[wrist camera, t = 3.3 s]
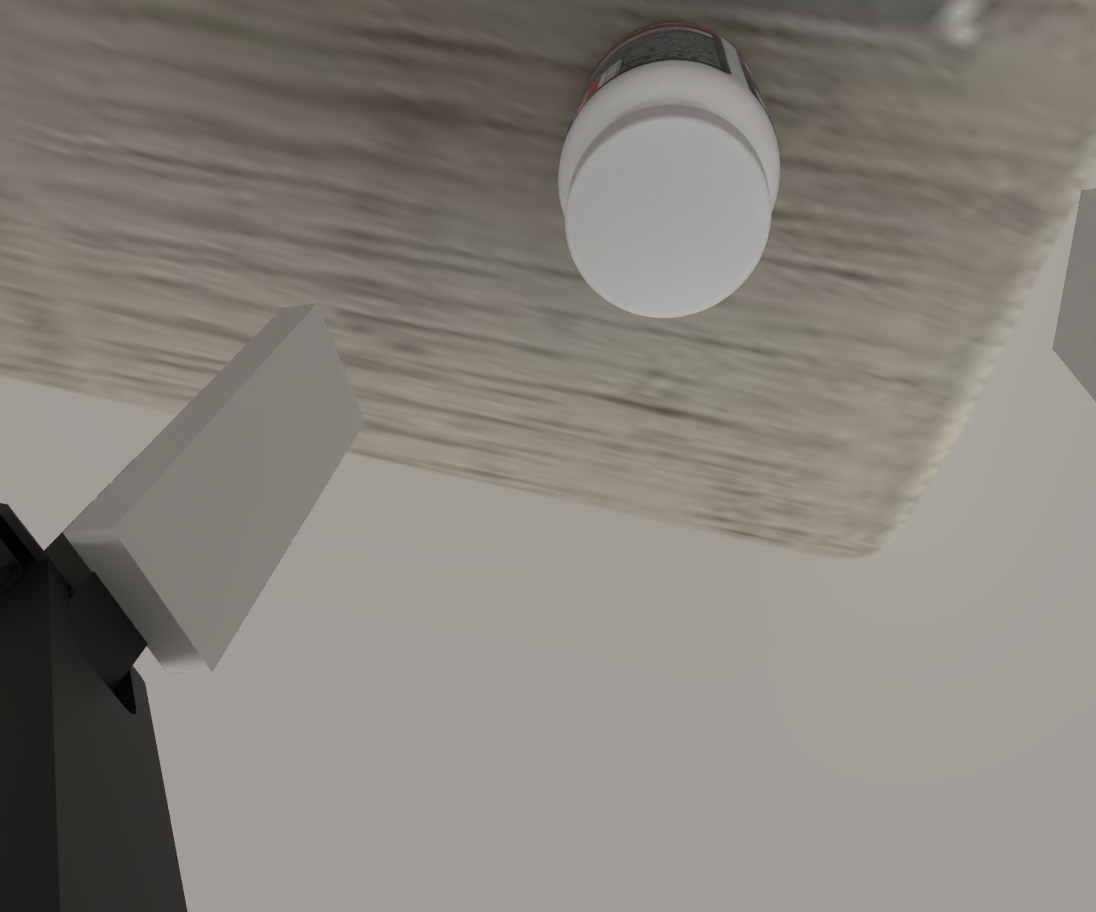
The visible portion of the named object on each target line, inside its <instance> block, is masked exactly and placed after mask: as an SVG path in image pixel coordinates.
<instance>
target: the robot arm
mask: <svg viewBox="0 0 1096 912" xmlns="http://www.w3.org/2000/svg"><path fill="white" fill-rule="evenodd" d="M1053 350H1054V351H1055V352H1056V353H1057V355H1058V356H1059V357H1060V358H1061V360H1062V361H1063V362H1064V363H1065V365H1066V366H1067V367H1068V368H1069V369H1070V371H1072V373H1073V374H1074V375H1075V377H1076V378H1077V379H1078V380H1079V381H1080V383H1081V384H1082V385H1083V386H1084V387H1085V389H1086V390H1087V391H1088V393H1089V394H1090V395H1091V396H1092V397H1093V399H1094V400H1095V401H1096V188H1094V189H1088V190H1081V196H1080V201H1079V207H1078V212H1077V218H1076V223H1075V229H1074V234H1073V240H1072V245H1071V251H1070V257H1069V262H1068V268H1067V273H1066V278H1065V284H1064V289H1063V294H1062V300H1061V305H1060V311H1059V317H1058V323H1057V328H1056V333H1055V338H1054V344H1053ZM364 422H365V420H364V417H363V415H362V412H361V410H360V407H359V405H358V403H357V400H356V398H355V395H354V393H353V390H352V388H351V385H350V383H349V380H348V378H347V375H346V373H345V371H344V368H343V366H342V363H341V361H340V358H339V356H338V353H337V351H336V348H335V346H334V344H333V341H332V339H331V336H330V334H329V331H328V329H327V326H326V324H325V321H324V319H323V317H322V314H321V312H320V309H319V307H318V304H317V303H316V304H309V305H302V306H295V307H289V308H282V309H281V310H280V311H279V312H278V313H277V314H276V315H275V316H274V317H273V318H272V319H271V320H270V321H269V322H268V323H267V325H266V326H265V327H264V328H263V329H262V330H261V331H260V332H259V333H258V334H257V335H256V336H255V337H254V338H253V339H252V340H251V341H250V342H249V343H248V344H247V345H246V346H245V347H244V348H243V349H242V350H241V351H240V352H239V353H238V354H237V355H236V356H235V357H234V358H233V359H232V360H231V361H230V362H229V363H228V364H227V365H226V366H225V367H224V368H223V369H222V370H221V371H220V372H219V373H218V375H217V376H216V377H215V378H214V379H213V380H212V381H211V382H210V383H209V384H208V385H207V386H206V387H205V388H204V389H203V390H202V391H201V392H200V393H199V394H198V395H197V396H196V397H195V398H194V399H193V400H192V401H191V402H190V403H189V404H188V405H187V406H186V407H185V408H184V409H183V410H182V411H181V412H180V413H179V414H178V415H177V416H176V417H175V418H174V419H173V420H172V421H171V422H170V424H169V425H168V426H167V427H166V428H165V429H164V430H163V431H162V432H161V433H160V434H159V435H158V436H157V437H156V438H155V439H154V440H153V441H152V442H151V443H150V444H149V445H148V446H147V447H146V448H145V449H144V450H143V451H142V452H141V453H140V454H139V455H138V456H137V457H136V458H135V459H134V460H133V461H132V462H131V463H130V464H129V465H128V466H127V467H126V468H125V469H124V470H123V471H122V472H121V473H120V474H119V475H118V476H117V477H116V478H115V479H114V481H113V482H112V483H111V484H109V485H108V486H107V487H106V488H105V489H104V490H103V491H102V492H101V493H100V494H99V495H98V497H97V498H96V499H95V500H94V501H92V502H91V503H90V504H89V506H88V507H87V508H86V509H85V510H84V511H83V512H82V513H81V514H80V515H79V516H78V517H77V518H76V519H75V520H74V521H73V522H72V523H71V524H70V525H69V526H68V527H67V528H66V529H65V530H64V531H63V532H62V533H61V534H60V535H59V536H58V537H57V538H56V539H55V540H54V541H53V542H52V543H51V544H50V545H49V546H48V547H47V548H46V549H45V550H44V551H43V549H42V548H41V547H40V546H39V544H38V543H37V542H36V540H35V539H34V538H33V536H32V535H31V534H30V533H29V531H28V530H27V529H26V528H25V526H24V525H23V524H22V522H21V521H20V520H19V519H18V517H17V516H16V515H15V513H14V512H13V511H12V509H11V508H10V507H9V505H7V504H1V503H0V912H187V907H186V902H185V896H184V891H183V886H182V880H181V875H180V869H179V864H178V859H177V853H176V848H175V842H174V837H173V832H172V826H171V821H170V815H169V810H168V804H167V799H166V794H165V788H164V783H163V778H162V772H161V767H160V761H159V756H158V751H157V745H156V740H155V734H154V729H153V723H152V718H151V712H150V707H149V702H148V696H147V692H146V686H145V682H144V681H143V679H142V677H141V676H140V674H139V673H138V672H137V671H136V669H135V668H134V667H133V664H134V662H135V661H136V660H137V658H138V657H139V655H140V654H141V653H142V651H143V650H144V649H145V647H146V646H147V647H148V648H149V650H150V651H151V652H152V653H153V655H154V656H155V658H156V659H157V660H158V662H159V663H160V664H161V665H162V667H163V668H164V670H165V671H166V672H167V673H200V672H212V671H213V670H214V668H215V667H216V665H217V663H218V662H219V660H220V658H221V657H222V655H223V653H224V652H225V650H226V648H227V647H228V645H229V644H230V642H231V640H232V639H233V637H234V635H235V634H236V632H237V631H238V629H239V627H240V626H241V624H242V622H243V621H244V619H245V617H246V616H247V614H248V612H249V611H250V609H251V608H252V606H253V604H254V602H255V601H256V599H257V598H258V596H259V594H260V592H261V591H262V589H263V588H264V586H265V585H266V583H267V581H268V580H269V578H270V576H271V575H272V573H273V571H274V570H275V568H276V567H277V565H278V563H279V562H280V560H281V558H282V557H283V555H284V553H285V552H286V550H287V548H288V547H289V545H290V544H291V542H292V540H293V539H294V537H295V535H296V534H297V532H298V530H299V529H300V527H301V526H302V524H303V522H304V521H305V519H306V517H307V516H308V514H309V512H310V511H311V509H312V507H313V505H314V504H315V503H316V501H317V499H318V498H319V496H320V494H321V493H322V491H323V489H324V488H325V486H326V485H327V483H328V481H329V480H330V478H331V476H332V475H333V473H334V471H335V470H336V468H337V466H338V465H339V463H340V462H341V460H342V458H343V457H344V455H345V453H346V452H347V450H348V448H349V447H350V445H351V444H352V442H353V440H354V439H355V437H356V435H357V434H358V432H359V430H360V429H361V427H362V426H363V424H364Z"/></svg>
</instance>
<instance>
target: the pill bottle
mask: <svg viewBox="0 0 1096 912" xmlns="http://www.w3.org/2000/svg"><path fill="white" fill-rule="evenodd" d="M779 182H780V156H779V149H778V143H777V138H776V134H775V130H774V127H773V125H772V122H771V120H770V117H769V115H768V112H767V110H766V108H765V105H764V103H763V100H762V98H761V95H760V93H759V90H758V87H757V84H756V82H755V80H754V78H753V75H752V73H751V71H750V69H749V67H748V65H747V64H746V62H745V60H744V59H743V58H742V56H741V55H740V54H739V53H738V52H737V51H736V49H735V48H734V47H733V46H732V45H731V44H730V43H729V42H727V41H726V40H725V39H724V38H722V37H721V36H719V35H717V34H716V33H714V32H712V31H710V30H708V29H706V28H703V27H700V26H697V25H693V24H687V23H663V24H657V25H653V26H650V27H646V28H644V29H641V30H639V31H637V32H635V33H633V34H631V35H629V36H628V37H626V38H625V39H623V40H622V41H620V42H619V43H618V44H617V45H616V46H614V47H613V48H612V49H611V50H610V51H609V53H608V54H607V55H606V56H605V57H604V58H603V59H602V60H601V62H600V63H599V65H598V66H597V68H596V69H595V71H594V72H593V74H592V76H591V78H590V80H589V82H588V84H587V86H586V88H585V91H584V94H583V97H582V99H581V102H580V104H579V106H578V109H577V111H576V113H575V116H574V119H573V121H572V124H571V126H570V128H569V130H568V133H567V135H566V138H565V141H564V145H563V148H562V153H561V157H560V163H559V170H558V190H559V198H560V204H561V208H562V212H563V215H564V218H565V230H566V238H567V243H568V247H569V250H570V253H571V256H572V258H573V261H574V263H575V265H576V267H577V269H578V270H579V272H580V273H581V275H582V276H583V278H584V279H585V281H586V282H587V283H588V284H589V286H590V287H591V288H592V289H593V290H594V291H595V292H597V293H598V294H599V295H600V296H601V297H603V298H604V299H605V300H606V301H608V302H610V303H612V304H613V305H615V306H617V307H619V308H621V309H623V310H625V311H628V312H630V313H633V314H637V315H641V316H646V317H655V318H673V317H681V316H685V315H691V314H694V313H698V312H700V311H703V310H705V309H708V308H710V307H712V306H714V305H716V304H718V303H719V302H721V301H722V300H724V299H725V298H726V297H728V296H729V295H731V294H732V293H733V292H734V291H735V290H737V289H738V288H739V287H740V286H741V284H742V283H743V282H745V280H746V279H747V278H748V277H749V276H750V274H751V273H752V271H753V270H754V268H755V267H756V265H757V264H758V262H759V260H760V258H761V256H762V254H763V251H764V249H765V246H766V243H767V239H768V236H769V231H770V225H771V214H772V211H773V208H774V205H775V202H776V199H777V194H778V188H779Z"/></svg>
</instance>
